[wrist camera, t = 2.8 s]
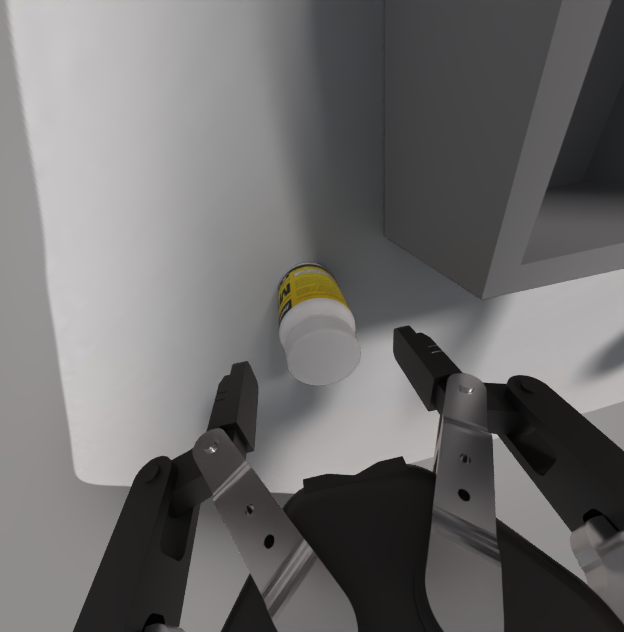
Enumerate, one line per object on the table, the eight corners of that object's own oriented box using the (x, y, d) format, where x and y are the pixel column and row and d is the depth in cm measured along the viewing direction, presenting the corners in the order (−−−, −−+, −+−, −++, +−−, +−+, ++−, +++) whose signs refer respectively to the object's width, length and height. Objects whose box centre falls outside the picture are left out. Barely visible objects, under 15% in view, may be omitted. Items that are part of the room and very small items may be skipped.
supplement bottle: (276, 261, 18) (277, 323, 11) (338, 260, 18) (377, 320, 11) (278, 314, 20) (280, 394, 13) (332, 313, 21) (361, 388, 14)
